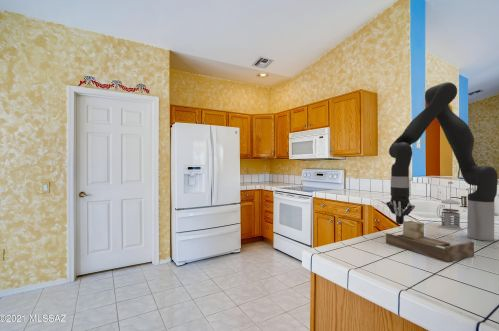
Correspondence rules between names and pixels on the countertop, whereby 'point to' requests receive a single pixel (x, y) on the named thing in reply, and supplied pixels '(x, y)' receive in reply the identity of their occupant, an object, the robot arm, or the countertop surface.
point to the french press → (447, 220)
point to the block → (413, 229)
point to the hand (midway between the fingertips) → (399, 224)
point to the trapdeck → (432, 247)
